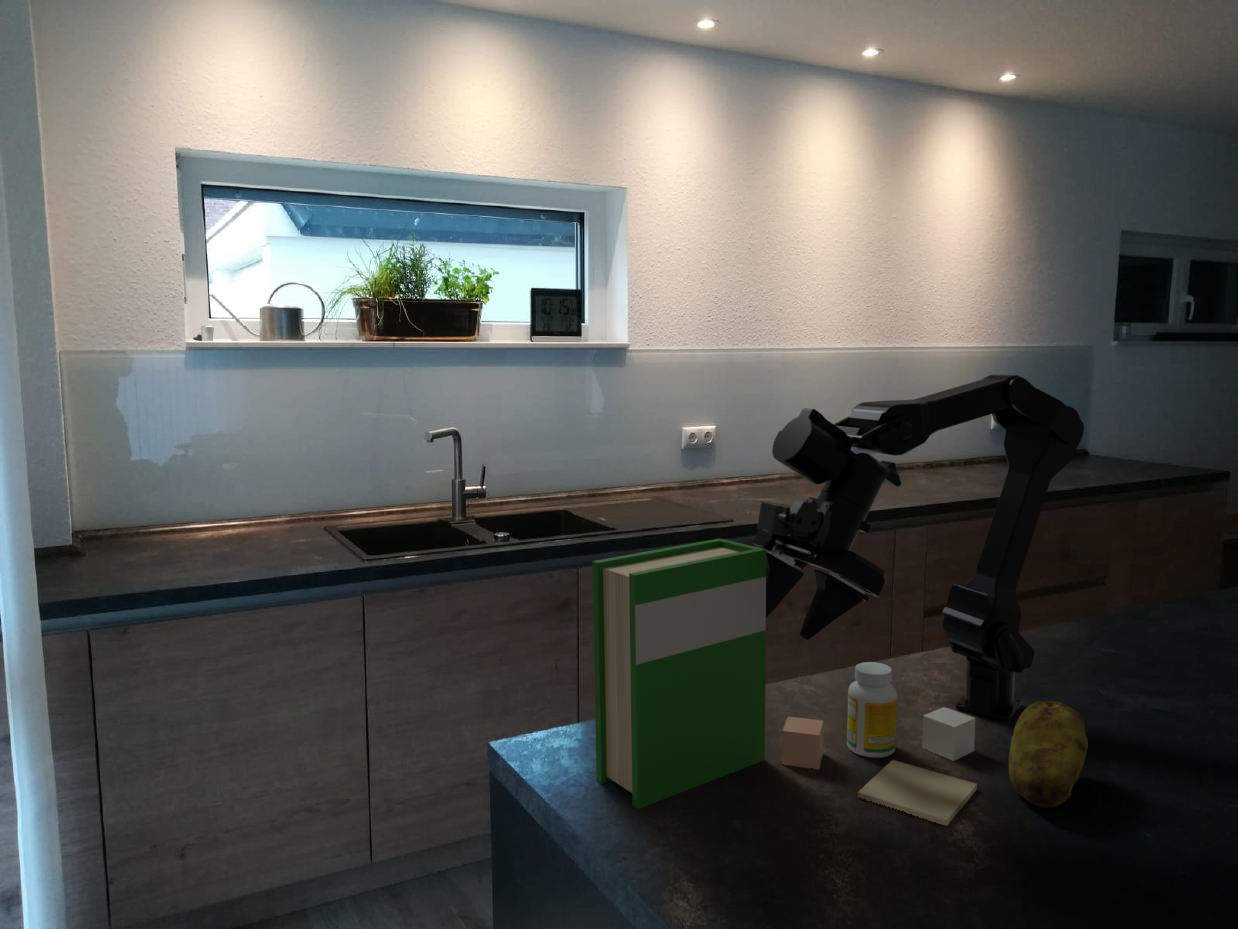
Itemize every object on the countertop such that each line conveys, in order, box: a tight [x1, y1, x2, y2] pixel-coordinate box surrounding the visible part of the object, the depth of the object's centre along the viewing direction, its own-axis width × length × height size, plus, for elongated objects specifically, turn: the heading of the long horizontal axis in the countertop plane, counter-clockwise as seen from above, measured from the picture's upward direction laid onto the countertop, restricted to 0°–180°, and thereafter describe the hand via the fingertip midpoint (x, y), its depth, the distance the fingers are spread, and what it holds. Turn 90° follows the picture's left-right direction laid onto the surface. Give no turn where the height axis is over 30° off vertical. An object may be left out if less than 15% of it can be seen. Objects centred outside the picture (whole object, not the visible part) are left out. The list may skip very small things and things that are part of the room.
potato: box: [1008, 700, 1089, 809], centre depth 92 cm, size 8×13×8 cm, turn 132°
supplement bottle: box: [846, 661, 898, 759], centre depth 101 cm, size 5×5×10 cm
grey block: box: [921, 706, 976, 762], centre depth 101 cm, size 4×4×4 cm
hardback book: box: [591, 538, 767, 810], centre depth 96 cm, size 18×7×24 cm, turn 125°
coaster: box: [857, 759, 978, 827], centre depth 91 cm, size 9×9×1 cm
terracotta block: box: [781, 716, 824, 770], centre depth 99 cm, size 4×4×4 cm
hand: (781, 627), depth 99 cm, fingers open, 9 cm apart
